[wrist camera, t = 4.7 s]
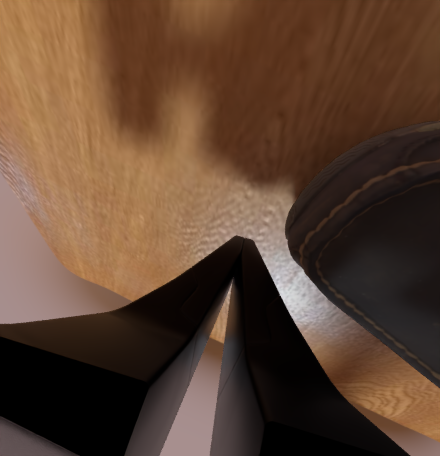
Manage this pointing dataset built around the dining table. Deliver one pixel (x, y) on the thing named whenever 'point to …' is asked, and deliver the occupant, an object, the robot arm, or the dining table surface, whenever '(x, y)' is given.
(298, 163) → the dining table surface
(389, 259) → the boat shoe
